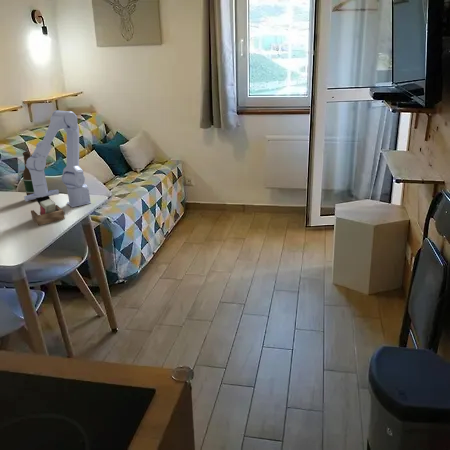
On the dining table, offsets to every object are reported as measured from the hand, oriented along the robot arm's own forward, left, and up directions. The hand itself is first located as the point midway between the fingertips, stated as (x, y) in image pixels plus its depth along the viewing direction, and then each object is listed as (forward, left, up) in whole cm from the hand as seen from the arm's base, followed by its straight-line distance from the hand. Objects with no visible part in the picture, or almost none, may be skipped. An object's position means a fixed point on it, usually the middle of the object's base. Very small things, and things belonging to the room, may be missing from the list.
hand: (45, 212), depth 216 cm
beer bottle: (-3, -29, -2) cm, 30 cm away
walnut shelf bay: (0, +4, -2) cm, 4 cm away
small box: (0, +3, -2) cm, 3 cm away
